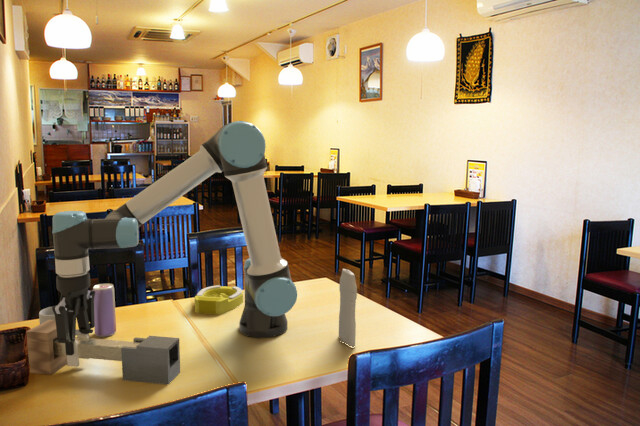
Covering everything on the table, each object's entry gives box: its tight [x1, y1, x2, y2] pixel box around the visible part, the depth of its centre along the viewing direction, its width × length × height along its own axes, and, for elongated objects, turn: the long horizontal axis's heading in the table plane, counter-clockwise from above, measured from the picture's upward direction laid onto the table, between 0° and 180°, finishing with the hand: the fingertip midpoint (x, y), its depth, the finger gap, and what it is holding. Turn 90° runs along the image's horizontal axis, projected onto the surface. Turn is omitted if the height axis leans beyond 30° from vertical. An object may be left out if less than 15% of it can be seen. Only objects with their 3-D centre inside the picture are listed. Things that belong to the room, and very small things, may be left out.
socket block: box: [25, 320, 68, 376], centre depth 123 cm, size 6×8×11 cm
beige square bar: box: [53, 336, 140, 362], centre depth 120 cm, size 28×4×4 cm, turn 81°
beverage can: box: [92, 283, 117, 338], centre depth 144 cm, size 6×6×15 cm
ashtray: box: [194, 284, 244, 315], centre depth 173 cm, size 16×21×5 cm
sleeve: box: [121, 335, 181, 385], centre depth 119 cm, size 12×6×9 cm, turn 81°
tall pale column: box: [338, 268, 358, 347], centre depth 140 cm, size 11×4×22 cm, turn 21°
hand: (78, 361), depth 122 cm, fingers closed on beige square bar, 4 cm apart
